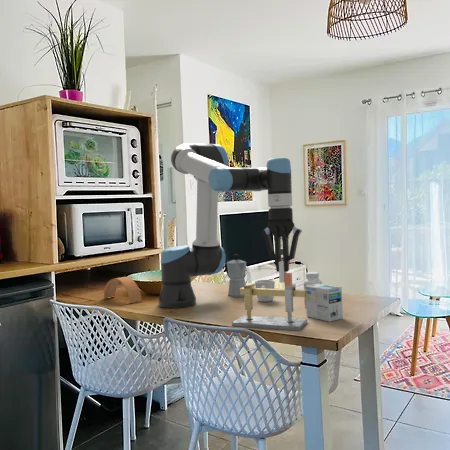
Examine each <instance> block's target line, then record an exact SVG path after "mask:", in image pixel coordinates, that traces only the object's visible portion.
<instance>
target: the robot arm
mask: <svg viewBox="0 0 450 450" xmlns="http://www.w3.org/2000/svg"><path fill="white" fill-rule="evenodd" d="M170 156H171V157H170V162H171V163H170V164H171V166H172V168H173V169H175V170H176V171H178V172H179V173H181V174H184V175H189V174H190V175H191V176H192V177H193V179H195V181H196V222H195V223H196V227H195V228H196V229H195V240H194V241H192V245H191V246H192V247H191V248H190V246H189V245H187V244H186V245H185V244H183V245H176V246H171V247H167V248H164V249H163V250H162V251H161V252H160V267H161V269H160V271H161V290H160V293H159V296H158V307H161V308H164V309H165V308H166V309H178V308H187V307H192V306H195V305H196V304H197V297H196V295H195V292H194V289H193V287H192V281H191V280H192V279H191V278H192V277H200V276H211V275H216V274H219V273H220V272H221V271H222V270H223V269H224V268H225V267H224V266H225V262H226V253H225V252H226V251H225V249H224V248H223V247H222V246H221V243H220V241H219V240H218V239H217V238H218V235H217V234H218V203H219V200H218V199H219V192H221V193H223V192H224V193H225V192H249V191H250V192H263V191H267V205H268V208H269V209H268V211H267V212H268V224H267V227H266V228H264V229H262V230H260V233H261V235H262V236H263V237H264V241H265V244H266V249H267V252H268V256H269V259H270V260H272V261H274V262H275V271H276V272H278V273H279V275H278V276H279V283H281V284H282V283H283V284H284V273H289V271H290V263H289V262H290V261H291V260H294V259H295V256H296V251H297V248H298V247H297V246H298V241H299V236H300V235H301V233H302V229H301V228H298V227H296V226H295V222H294V218H293V216H294V215H293V208H292V206H293V197H292V196H293V195H292V190H293V189H292V186H293V185H292V167H291V166H292V165H291V161H290V159H289V158H287V157H275V158H269V159H267V161H266V166H264V167H230V166H229V157H228V153H227V151H226V149H225V147H223V146H222V145H220V144H216V143H194V142H193V143H192V142H187V143H182V144H180V145H178V146H176V147H175V148H174V150H173V151H172V153H171V155H170ZM291 233H292V234H293V235H292V240H291V244H290V249H289V238H290V234H291ZM270 234H272V235H273V240H274V246H273V241H272V238H271V235H270ZM281 241H282V243H281ZM281 244H282V247H281Z"/></svg>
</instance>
